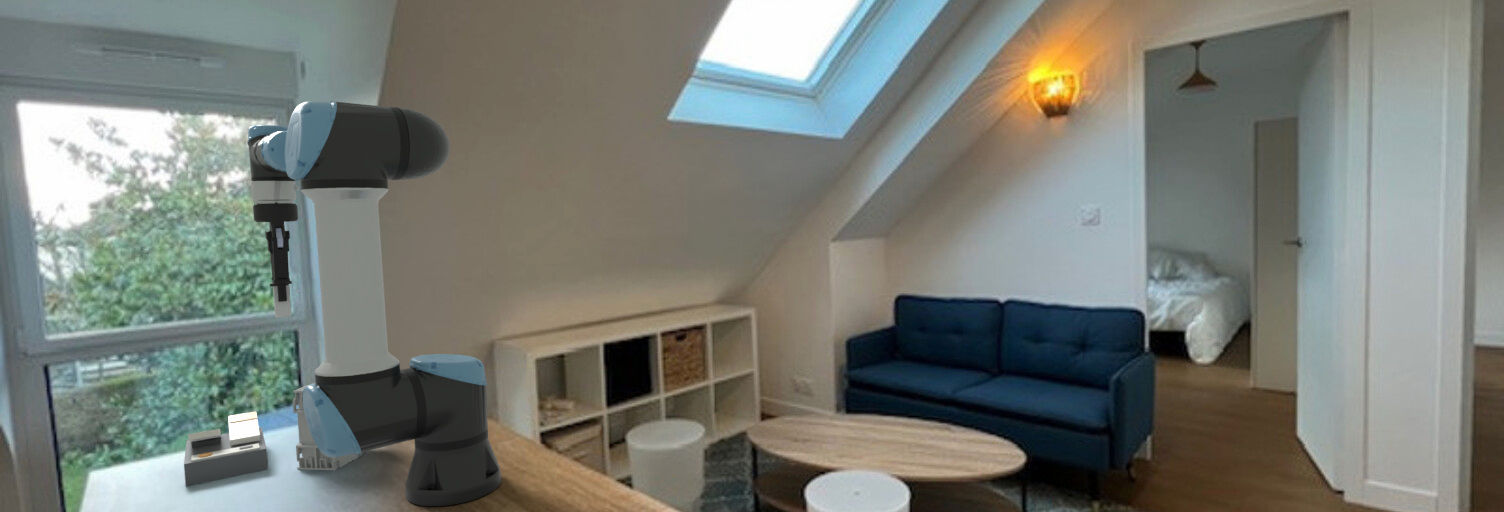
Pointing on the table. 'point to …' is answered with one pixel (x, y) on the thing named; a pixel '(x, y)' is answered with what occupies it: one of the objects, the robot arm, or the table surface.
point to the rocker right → (243, 428)
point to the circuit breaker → (313, 443)
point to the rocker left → (204, 435)
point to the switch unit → (222, 458)
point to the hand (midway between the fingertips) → (283, 316)
